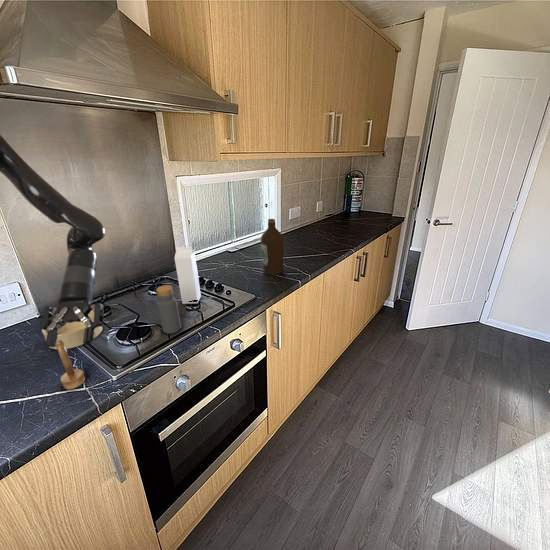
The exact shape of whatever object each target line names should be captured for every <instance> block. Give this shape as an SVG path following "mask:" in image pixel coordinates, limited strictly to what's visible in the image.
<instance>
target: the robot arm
mask: <svg viewBox="0 0 550 550" xmlns="http://www.w3.org/2000/svg"><path fill="white" fill-rule="evenodd" d="M0 173H1V174H2V175H3V176H4V177H5V178H6V179H7V180H9V182H10V183H11V184H12V185H13V186H14V188H15V189H16V190H17V191H18V192H19V193H20V194H21V196H22V197H23V198H24V199H25V200H26V201H27V202H28V203H29V204H30V205H31V206H32V207H33V208H35V209H36V210H37V211H38V212H40V213H41V214H42V215H43V216H44V217H46V218H47V219H48V220H50V221H51V222H53V223H55V224H66V225H68V226H70V228H69V230H68V232H67V235H66V250H67V259H66V264H65V269H64V273H63V275H62V281H61V286H60V292H59V296H58V300H59V301H58V302H59V303H58V305H57V307H51V306H48V305H47V306H45V307H44V310H43V314H42V317H41V322H40V326H39V329H40V330H42V329H43V330H47V332H48V334H47V339H46V341H45V344H46V345H47V347H48V348H49V347H55V346H56V345H55V343H56V341H57V336H58V333H57V331H58V330H59V329H60V328H61V327H62V326H64V325H65V324H66V323H67V322H68V323H72V322H81V321H82V322H83V323H84V324H85V326H86V327H87V328H85V331H84V339H83V343H84V345H90V344H91V342H93V340H94V339H93V335H94V329H95V328H96V327H99V326H100V327H101V326H102V327H103V325H104V312H105V306H104V304H102V303H100V302H96V303H94V304H93V301H94V300H93V299H94V293H95V285H96V269H97V263H98V261H97V260H98V256H97V254H96V252H95V251H94V250H92V248H93V245H95V244H96V243H98V242H100V241H101V240H103V239H104V237H106V229H105V227H104V225H103V224H102V222H101V221H100V220H99V219H98V218H97V217H95V216H93V215H92V214H91V213H88V211H85V210H84V209H82V208H80V207H78V206H77V205H74V204H73V203H72V202H70V201H69V200H68V199H67V198H66V197H65V196H63V195H62V194H61V193H60V192H59V191H57V189H56V188H54V187H53V186H52V185H51V184H50V183H49V182H47V181H46V180H45V179H44V178H43V177H42V176H41V175H40V174H38V173H37V171H35V169H33V168H32V167H31V166H30V165H29V164H28V163H27V162H26V161H25V160H24V159H23V158H22V157H21V156H20V154H18V153H17V152H16V151H15V149H14V148H13V147H12V146H11V145H10V144H9V143H8V142H7V140H6V139H5V138H4V137H3V136H2V135H1V134H0ZM92 310H93V311H94V322H92V319H91V318H90V317H89V315H88V314H89V313H90V312H91V311H92ZM61 319H62V321H60V320H61Z"/></svg>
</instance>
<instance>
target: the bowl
mask: <svg viewBox="0 0 550 550" xmlns="http://www.w3.org/2000/svg"><path fill="white" fill-rule="evenodd" d="M88 315H89V317H90V318H91V319H92V322H94V311H93V309H92V311H91V312H90V313H89V314H88ZM60 321H62V319H61V320H60ZM85 328H87V327H86V326H85V324H84V323H83V322H82V321H81V322H72V323H68V322H67V323H66V324H65V325H64V326H62V327H61V328H60V329H59V330H58V331H57V333H58V336H57V341H58V340H61V341H63V343H64V345H65V348H66V350H69V349H73V348H76V347H79V346H82V345H85V343H83V339H84V331H85ZM103 329H104V328H103V325H102V326H101V327H100V326H99V327H96V328H95V329H94V335H93V340H95V338H97V337H98V336H99V335H100V334H101V333H102V331H103ZM41 333H42V337H43V339H44V342H46V339H47V334H48V332H47V330H43V329H41ZM57 341H56V342H57ZM48 348H49V349H53V350H57V348H56V346H55V347H49V346H48Z"/></svg>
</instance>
